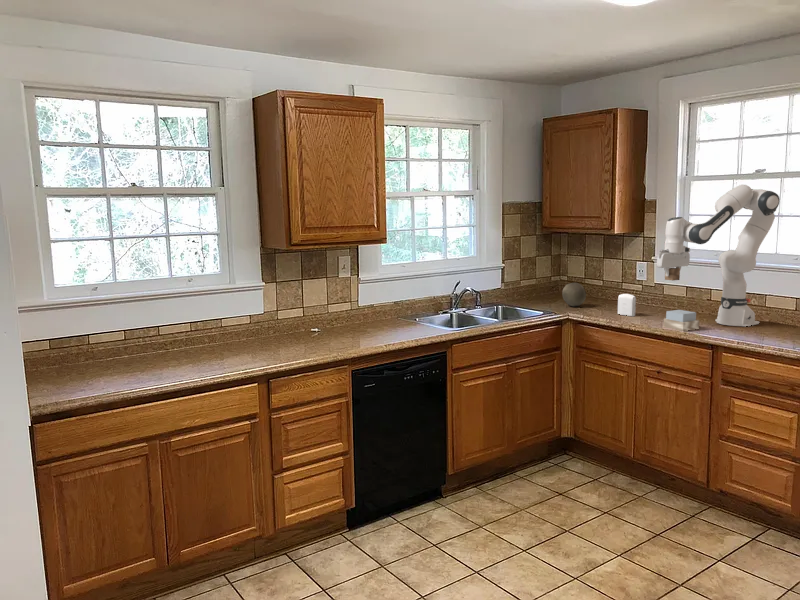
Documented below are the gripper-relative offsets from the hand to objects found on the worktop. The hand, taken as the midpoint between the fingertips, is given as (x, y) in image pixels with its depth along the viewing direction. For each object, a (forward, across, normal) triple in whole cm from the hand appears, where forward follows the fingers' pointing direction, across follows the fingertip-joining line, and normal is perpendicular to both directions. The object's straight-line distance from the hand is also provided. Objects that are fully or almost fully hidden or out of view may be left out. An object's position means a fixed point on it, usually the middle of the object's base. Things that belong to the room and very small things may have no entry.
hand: (672, 275), depth 332 cm
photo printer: (+27, +5, +35) cm, 44 cm away
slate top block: (+22, 0, -6) cm, 23 cm away
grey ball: (+26, -2, +72) cm, 77 cm away
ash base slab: (+27, 0, -7) cm, 28 cm away
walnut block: (+2, 0, 0) cm, 2 cm away
